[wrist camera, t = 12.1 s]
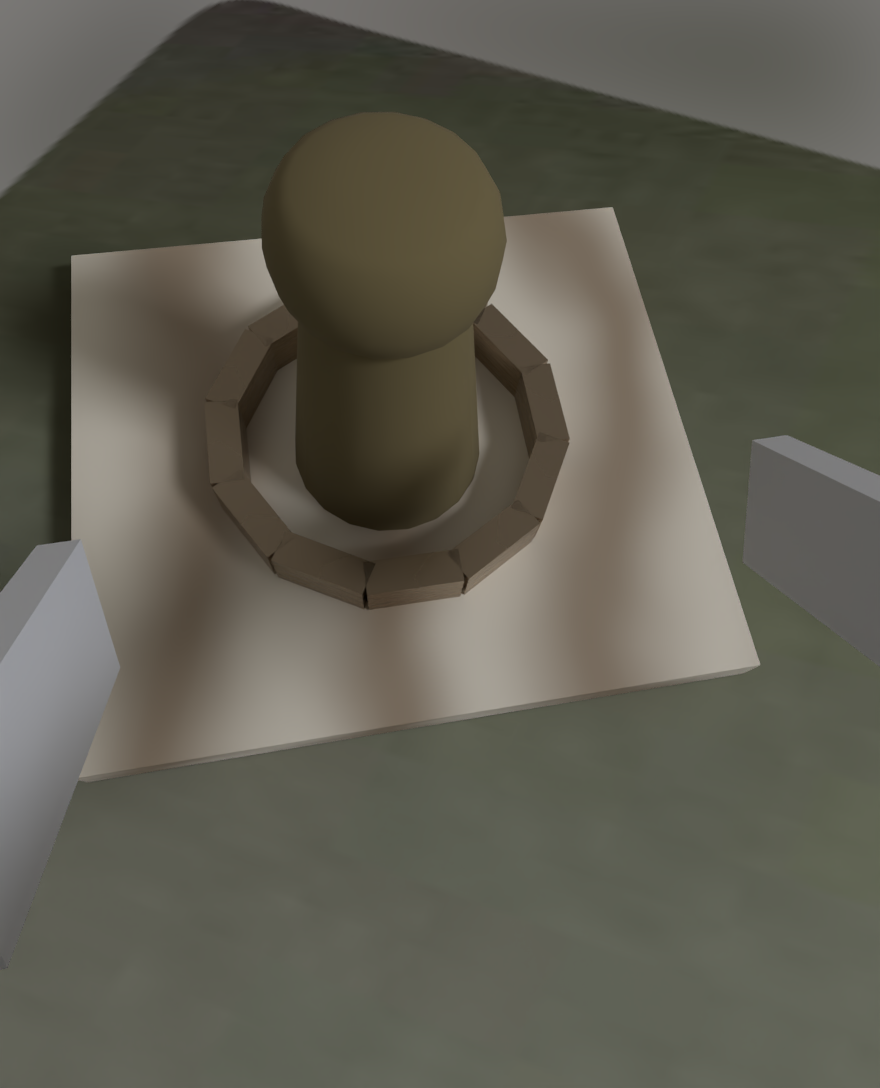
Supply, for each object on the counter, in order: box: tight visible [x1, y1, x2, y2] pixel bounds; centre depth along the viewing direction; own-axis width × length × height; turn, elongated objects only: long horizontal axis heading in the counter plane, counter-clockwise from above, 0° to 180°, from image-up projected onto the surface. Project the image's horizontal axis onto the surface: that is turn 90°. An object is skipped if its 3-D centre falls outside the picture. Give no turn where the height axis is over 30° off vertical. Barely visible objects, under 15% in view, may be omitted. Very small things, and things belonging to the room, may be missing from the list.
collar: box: [204, 302, 570, 610], centre depth 24 cm, size 11×11×2 cm
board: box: [71, 207, 760, 782], centre depth 26 cm, size 20×18×1 cm
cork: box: [262, 112, 507, 531], centre depth 20 cm, size 6×6×11 cm
